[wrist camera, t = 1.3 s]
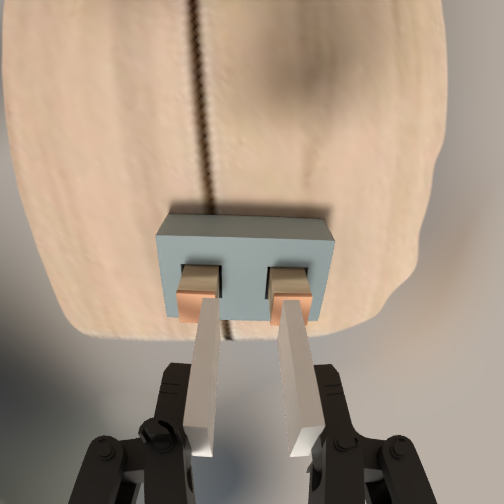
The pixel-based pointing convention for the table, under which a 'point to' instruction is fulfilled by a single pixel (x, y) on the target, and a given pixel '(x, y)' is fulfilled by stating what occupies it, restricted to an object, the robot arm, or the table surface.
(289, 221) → the socket block
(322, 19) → the table surface
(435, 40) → the table surface
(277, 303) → the peg
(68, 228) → the table surface
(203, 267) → the peg
